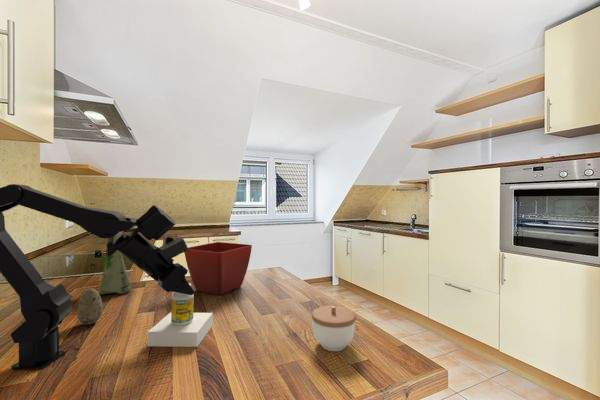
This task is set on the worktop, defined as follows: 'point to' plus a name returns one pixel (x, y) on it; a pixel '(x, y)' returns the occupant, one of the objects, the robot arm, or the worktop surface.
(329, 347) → the lidded jar
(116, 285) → the pouch
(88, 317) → the decorative egg
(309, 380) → the worktop surface
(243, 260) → the plant pot
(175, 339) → the podium
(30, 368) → the robot arm
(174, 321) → the supplement bottle
